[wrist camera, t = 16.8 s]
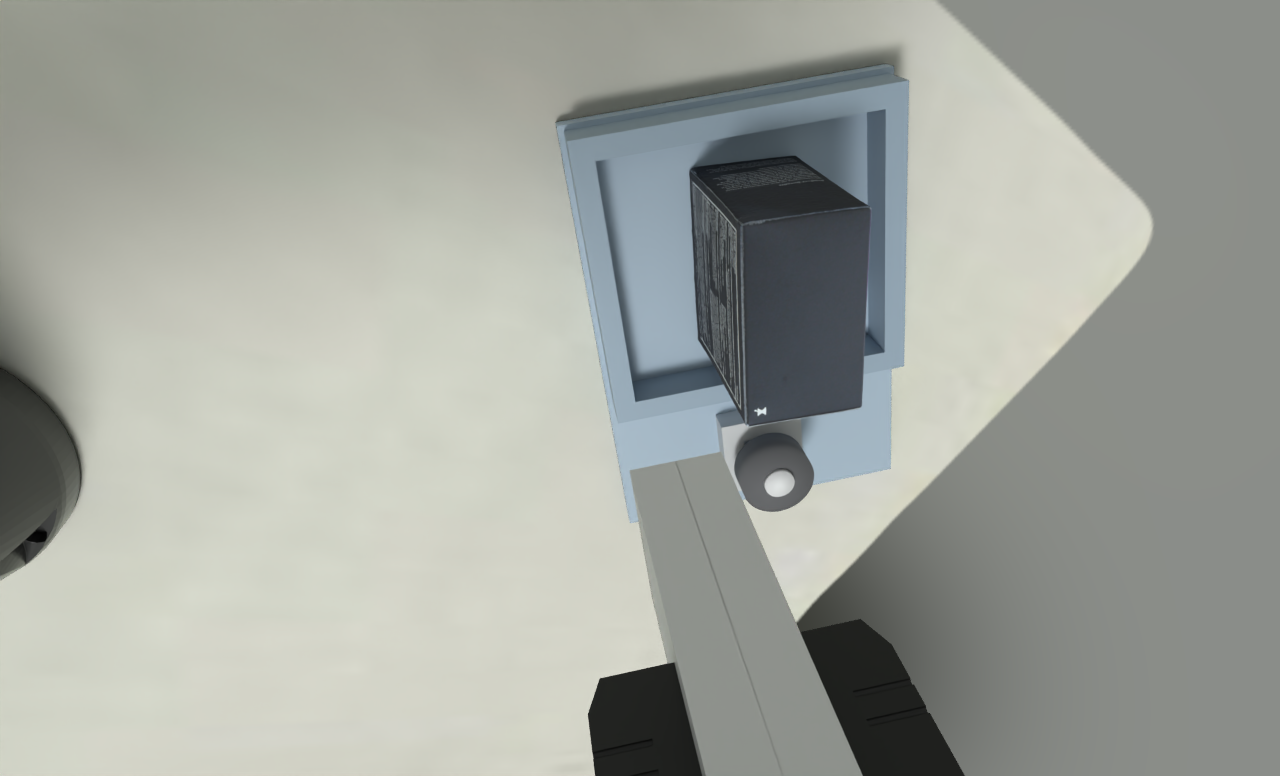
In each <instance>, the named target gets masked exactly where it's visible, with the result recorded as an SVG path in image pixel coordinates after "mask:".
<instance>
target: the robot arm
mask: <svg viewBox="0 0 1280 776" xmlns="http://www.w3.org/2000/svg"><path fill="white" fill-rule="evenodd" d="M630 476H631V482H632V487H633V493H634V498H635V504H636V510H637V515H638V521H639V527H640V532H641V538H642V543H643V549H644V555H645V560H646V566H647V572H648V577H649V583H650V588H651V594H652V599H653V603H654V608H655V612H656V616H657V620H658V624H659V629H660V633H661V637H662V641H663V646H664V650H665V654H666V658H667V663H668V664H664V665H659V666H655V667H650V668H646V669H641V670H637V671H632V672H628V673H623V674H618V675H614V676H609V677H605V678H600V680H599V683H598V686H597V689H596V692H595V695H594V698H593V701H592V704H591V707H590V710H589V713H588V719H589V727H590V736H591V744H592V752H593V758H594V759H593V761H594V769H595V776H964V774H963V772H962V770H961V769H960V767H959V765H958V763H957V761H956V759H955V758H954V756H953V754H952V752H951V750H950V748H949V747H948V745H947V743H946V741H945V740H944V738H943V736H942V734H941V733H940V731H939V729H938V727H937V725H936V723H935V722H934V720H933V718H932V716H931V714H930V713H928V712H927V710H926V705H925V704H924V702H923V700H922V698H921V696H920V695H919V693H918V691H917V689H916V688H915V686H914V685H912V683H911V680H910V677H909V675H908V673H907V671H906V670H905V668H904V666H903V664H902V662H901V661H900V659H899V657H898V655H897V653H896V652H895V650H894V648H893V646H892V645H891V644H890V643H889V642H888V641H887V640H885V639H884V638H883V637H882V636H881V635H879V634H878V633H877V632H876V631H874V630H873V629H872V628H871V627H869V626H868V625H867V624H866V623H865V622H863V621H862V620H861V619H859V620H854V621H849V622H845V623H840V624H836V625H831V626H827V627H822V628H817V629H813V630H808V631H804V632H800V631H799V629H798V626H797V624H796V622H795V619H794V617H793V615H792V613H791V610H790V608H789V606H788V603H787V601H786V599H785V597H784V594H783V592H782V590H781V587H780V585H779V583H778V581H777V578H776V576H775V574H774V571H773V569H772V567H771V565H770V562H769V560H768V558H767V555H766V553H765V551H764V548H763V546H762V544H761V542H760V539H759V537H758V535H757V532H756V530H755V528H754V526H753V523H752V521H751V519H750V516H749V514H748V512H747V510H746V507H745V505H744V503H743V500H742V498H741V496H740V493H739V491H738V489H737V487H736V484H735V482H734V480H733V477H732V475H731V473H730V471H729V468H728V466H727V464H726V461H725V459H724V457H723V455H722V452H717V453H712V454H707V455H702V456H697V457H692V458H688V459H683V460H678V461H673V462H668V463H663V464H658V465H653V466H648V467H643V468H639V469H634V470H630ZM79 488H80V470H79V463H78V458H77V455H76V452H75V448H74V446H73V444H72V441H71V439H70V437H69V435H68V433H67V431H66V430H65V428H64V426H63V425H62V423H61V422H60V420H59V419H58V418H57V416H56V415H55V414H54V413H53V411H52V410H51V409H50V408H49V407H48V406H47V405H46V403H45V402H44V401H43V400H42V399H41V398H40V397H39V396H37V395H36V394H35V393H34V392H33V391H32V390H31V389H29V388H28V387H27V386H26V385H25V384H23V383H22V382H21V381H19V380H18V379H16V378H15V377H14V376H12V375H11V374H9V373H7V372H6V371H4V370H3V369H1V368H0V580H2V579H4V578H5V577H7V576H9V575H10V574H12V573H14V572H15V571H17V570H18V569H20V568H22V567H23V566H25V565H26V564H28V563H29V562H30V561H32V560H33V559H34V558H36V557H37V556H38V555H39V554H40V553H41V552H42V551H43V550H44V549H45V548H46V547H47V546H48V545H49V544H50V542H51V541H52V540H53V538H54V537H55V536H56V534H57V533H58V532H59V530H60V529H61V528H62V526H63V525H64V524H65V522H66V521H67V519H68V518H69V516H70V515H71V513H72V511H73V509H74V506H75V504H76V501H77V498H78V494H79Z"/></svg>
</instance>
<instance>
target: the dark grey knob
mask: <svg viewBox="0 0 1280 776" xmlns="http://www.w3.org/2000/svg"><path fill="white" fill-rule="evenodd" d="M734 472H735V476H736V478H737V480H738V483H739V485H740V487H741V490H742V492H743V494H744V496H745V498H746V500H747V501H748V502H749V503H750V504H751V505H752V506H753V507H755V508H757V509H759V510H762V511H769V512H775V511H781V510H785V509H788V508H790V507H792V506H794V505H796V504H797V503H799V502H800V501H801V500H802V499H803V498H804V497H805V496H806V495H807V494H808V492H809V491H810V489H811V487H812V485H813V481H814V470H813V466H812V464H811V463H810V461H809V459H808V457H807V456H806V454H805V452H804V451H803V449H802V447H801V446H800V444H799V443H798V442H797V441H796V440H795V439H794V438H793V437H791V436H789V435H786V434H783V433H766V434H762V435H760V436H757V437H755V438H753V439H752V440H750V441H749V442H747V443H746V444H745V445H744V446H743V447H742V449H741V450H740V451H739V453H738V455H737V457H736V459H735V464H734Z"/></svg>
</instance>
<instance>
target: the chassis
mask: <svg viewBox="0 0 1280 776" xmlns="http://www.w3.org/2000/svg"><path fill="white" fill-rule="evenodd" d="M908 101H909V80H906V79H904V78H901V77H898V76H895V75H894V66H892V65H889V64H882V65H876V66H871V67H865V68H859V69H854V70H848V71H842V72H837V73H831V74H825V75H820V76H814V77H809V78H803V79H797V80H792V81H786V82H780V83H775V84H769V85H763V86H758V87H752V88H746V89H741V90H735V91H729V92H724V93H718V94H712V95H707V96H701V97H696V98H690V99H684V100H679V101H673V102H667V103H662V104H656V105H650V106H645V107H639V108H633V109H628V110H622V111H616V112H611V113H605V114H599V115H594V116H588V117H582V118H577V119H571V120H566V121H560V122H555V123H556V128H557V134H558V139H559V144H560V150H561V155H562V160H563V166H564V171H565V177H566V182H567V187H568V193H569V198H570V204H571V209H572V214H573V220H574V225H575V230H576V236H577V241H578V247H579V252H580V257H581V263H582V268H583V274H584V279H585V284H586V290H587V295H588V300H589V306H590V311H591V317H592V322H593V327H594V333H595V338H596V344H597V349H598V354H599V360H600V365H601V370H602V376H603V381H604V387H605V392H606V397H607V403H608V408H609V414H610V419H611V424H612V430H613V435H614V440H615V446H616V451H617V457H618V462H619V467H620V473H621V478H622V484H623V489H624V494H625V500H626V505H627V510H628V516H629V520H630V523H634V522H638V515H637V510H636V504H635V498H634V493H633V487H632V482H631V476H630V470H634V469H639V468H643V467H648V466H653V465H658V464H663V463H668V462H673V461H678V460H683V459H688V458H692V457H697V456H702V455H707V454H712V453H717V452H722V455H723V457H724V459H725V461H726V464H727V466H728V468H729V471H730V473H731V475H732V477H733V480H734V482H735V484H736V487H737V489H738V491H739V493H740V496H741V498H742V500H744V499H746V498H745V496H744V494H743V492H742V490H741V487H740V485H739V483H738V480H737V478H736V476H735V472H734V464H735V459H736V457H737V455H738V453H739V451H740V450H741V449H742V447H743V446H744V445H745V444H746V443H747V442H749V441H750V440H752V439H753V438H755V437H757V436H760V435H762V434H766V433H783V434H786V435H789V436H791V437H793V438H794V439H795V440H796V441H797V442H798V443H799V444H800V446H801V447H802V449H803V451H804V452H805V454H806V456H807V457H808V459H809V461H810V463H811V464H812V466H813V470H814V481H813V485H815V484H820V483H825V482H830V481H835V480H839V479H844V478H849V477H854V476H859V475H863V474H868V473H873V472H878V471H882V470H887V469H891V369H893V368H898V367H903V366H904V336H905V278H906V219H907V160H908ZM785 156H797V157H798V158H800V159H801V160H802V161H804V162H805V163H806V164H808V165H809V166H811V167H812V168H814V169H815V170H817V171H818V172H819V173H821V174H822V175H824V176H825V177H827V178H828V179H829V180H831V181H832V182H834V183H835V184H837V185H838V186H840V187H841V188H842V189H844V190H845V191H847V192H848V193H850V194H851V195H853V196H854V197H856V198H857V199H859V200H860V201H862V202H864V203H865V204H867V205H868V206H870V207H871V209H872V216H871V234H870V251H869V270H868V289H867V306H866V329H865V350H864V373H863V394H862V407H861V408H860V409H856V410H850V411H844V412H838V413H832V414H826V415H820V416H814V417H807V418H801V419H795V420H790V421H783V422H777V423H771V424H765V425H760V426H754V427H748V426H746V425H745V423H744V421H743V419H742V417H741V415H740V413H739V412H738V410H737V408H736V406H735V404H734V403H733V401H732V399H731V397H730V395H729V394H728V391H727V390H726V388H725V386H724V384H723V382H722V381H721V377H720V376H719V374H718V373H717V371H716V369H715V367H714V365H713V364H712V362H711V360H710V358H709V357H708V355H707V353H706V352H705V350H704V349H703V347H702V345H701V344H700V342H699V341H698V330H697V314H696V302H695V300H696V297H695V283H694V259H693V240H692V232H691V231H692V218H691V201H690V177H689V171H690V170H691V169H692V168H694V167H698V166H707V165H715V164H725V163H732V162H740V161H749V160H757V159H766V158H775V157H785Z"/></svg>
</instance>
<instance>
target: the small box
mask: <svg viewBox="0 0 1280 776" xmlns="http://www.w3.org/2000/svg"><path fill="white" fill-rule="evenodd" d="M689 177H690V201H691V218H692V231H691V232H692V240H693V259H694V283H695V297H696V300H695V302H696V314H697V330H698V341H699V342H700V344H701V345H702V347H703V349H704V350H705V352H706V353H707V355H708V357H709V358H710V360H711V362H712V364H713V365H714V367H715V369H716V371H717V373H718V374H719V376H720V377H721V381H722V382H723V384H724V386H725V388H726V390H727V391H728V394H729V395H730V397H731V399H732V401H733V403H734V404H735V406H736V408H737V410H738V412H739V413H740V415H741V417H742V419H743V421H744V423H745V425H746V426H748V427H754V426H760V425H765V424H771V423H777V422H783V421H790V420H795V419H801V418H807V417H814V416H820V415H826V414H832V413H838V412H844V411H850V410H856V409H860V408H861V407H862V394H863V373H864V350H865V329H866V306H867V289H868V270H869V251H870V234H871V216H872V209H871V207H870V206H868V205H867V204H865V203H864V202H862V201H860V200H859V199H857V198H856V197H854V196H853V195H851V194H850V193H848V192H847V191H845V190H844V189H842V188H841V187H840V186H838V185H837V184H835V183H834V182H832V181H831V180H829V179H828V178H827V177H825V176H824V175H822V174H821V173H819V172H818V171H817V170H815V169H814V168H812V167H811V166H809V165H808V164H806V163H805V162H804V161H802V160H801V159H800V158H798V157H797V156H785V157H775V158H766V159H757V160H749V161H740V162H732V163H725V164H715V165H707V166H698V167H694V168H692V169H691V170H690V171H689Z"/></svg>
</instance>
